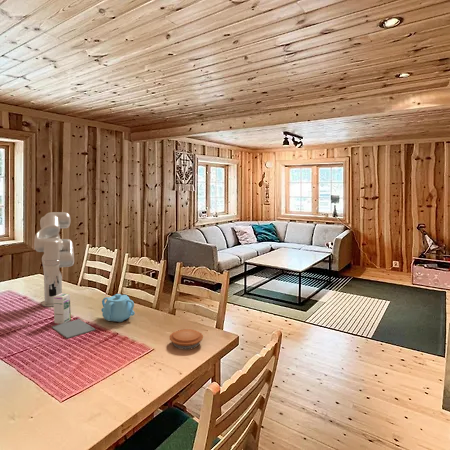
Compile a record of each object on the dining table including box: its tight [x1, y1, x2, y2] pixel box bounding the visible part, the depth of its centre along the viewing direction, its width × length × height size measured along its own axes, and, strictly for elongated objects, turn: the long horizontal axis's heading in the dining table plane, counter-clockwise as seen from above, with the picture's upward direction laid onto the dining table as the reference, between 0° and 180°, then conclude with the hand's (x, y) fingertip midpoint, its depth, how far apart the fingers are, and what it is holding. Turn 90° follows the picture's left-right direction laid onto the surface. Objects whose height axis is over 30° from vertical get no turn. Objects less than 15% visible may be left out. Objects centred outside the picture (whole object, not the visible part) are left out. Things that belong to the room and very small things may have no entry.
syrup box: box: [53, 292, 72, 325], centre depth 175 cm, size 6×6×14 cm
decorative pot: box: [100, 293, 136, 323], centre depth 182 cm, size 16×16×14 cm
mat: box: [51, 318, 96, 339], centre depth 167 cm, size 18×14×1 cm
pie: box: [169, 328, 204, 350], centre depth 155 cm, size 15×16×5 cm
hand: (52, 295), depth 182 cm, fingers closed
